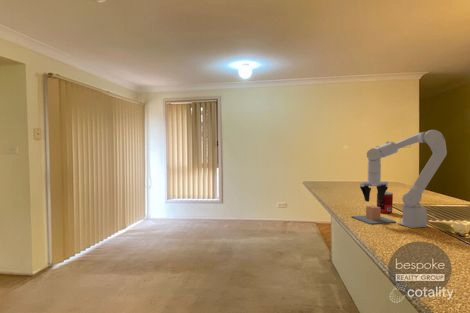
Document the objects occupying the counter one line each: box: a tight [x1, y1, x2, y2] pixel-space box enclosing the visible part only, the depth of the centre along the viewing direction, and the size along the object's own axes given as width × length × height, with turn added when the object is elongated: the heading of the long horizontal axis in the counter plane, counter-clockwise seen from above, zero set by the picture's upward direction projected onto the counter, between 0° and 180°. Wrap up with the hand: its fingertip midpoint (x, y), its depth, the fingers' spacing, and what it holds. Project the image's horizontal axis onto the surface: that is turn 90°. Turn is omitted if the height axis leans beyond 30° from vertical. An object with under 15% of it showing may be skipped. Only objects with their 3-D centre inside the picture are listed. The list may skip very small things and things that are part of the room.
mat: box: [351, 214, 397, 225], centre depth 146 cm, size 14×14×1 cm
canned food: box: [376, 191, 394, 215], centre depth 163 cm, size 8×8×11 cm
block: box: [365, 205, 381, 220], centre depth 146 cm, size 4×4×6 cm
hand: (373, 200), depth 146 cm, fingers open, 7 cm apart
